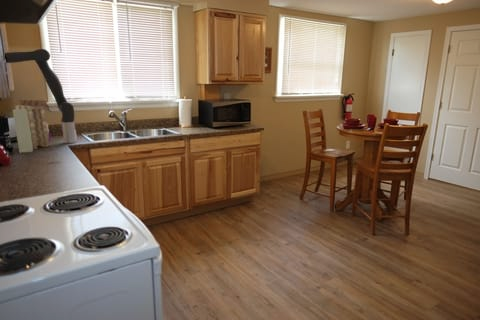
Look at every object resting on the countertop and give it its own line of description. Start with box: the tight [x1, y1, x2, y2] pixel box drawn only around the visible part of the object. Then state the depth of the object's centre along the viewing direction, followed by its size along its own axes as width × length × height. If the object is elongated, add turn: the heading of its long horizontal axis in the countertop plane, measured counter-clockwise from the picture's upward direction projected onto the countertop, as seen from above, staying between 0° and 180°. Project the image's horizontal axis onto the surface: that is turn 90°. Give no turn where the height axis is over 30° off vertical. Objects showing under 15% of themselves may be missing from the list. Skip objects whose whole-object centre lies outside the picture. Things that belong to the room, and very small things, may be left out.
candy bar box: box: [46, 121, 51, 142], centre depth 271 cm, size 11×5×16 cm, turn 146°
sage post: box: [12, 109, 34, 154], centre depth 233 cm, size 8×8×30 cm
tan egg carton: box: [14, 104, 50, 150], centre depth 250 cm, size 16×12×32 cm
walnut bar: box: [19, 99, 48, 107], centre depth 243 cm, size 25×4×4 cm, turn 65°
